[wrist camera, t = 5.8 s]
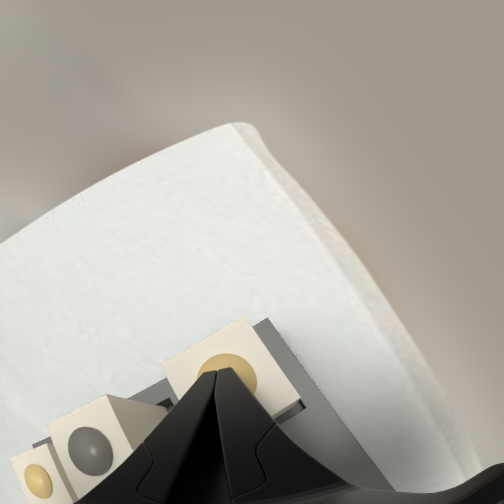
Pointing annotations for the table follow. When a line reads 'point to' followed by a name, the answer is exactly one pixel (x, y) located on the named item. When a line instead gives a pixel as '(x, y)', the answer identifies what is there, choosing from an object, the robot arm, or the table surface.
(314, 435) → the console
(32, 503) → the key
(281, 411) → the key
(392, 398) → the table surface
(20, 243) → the table surface
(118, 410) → the middle key
